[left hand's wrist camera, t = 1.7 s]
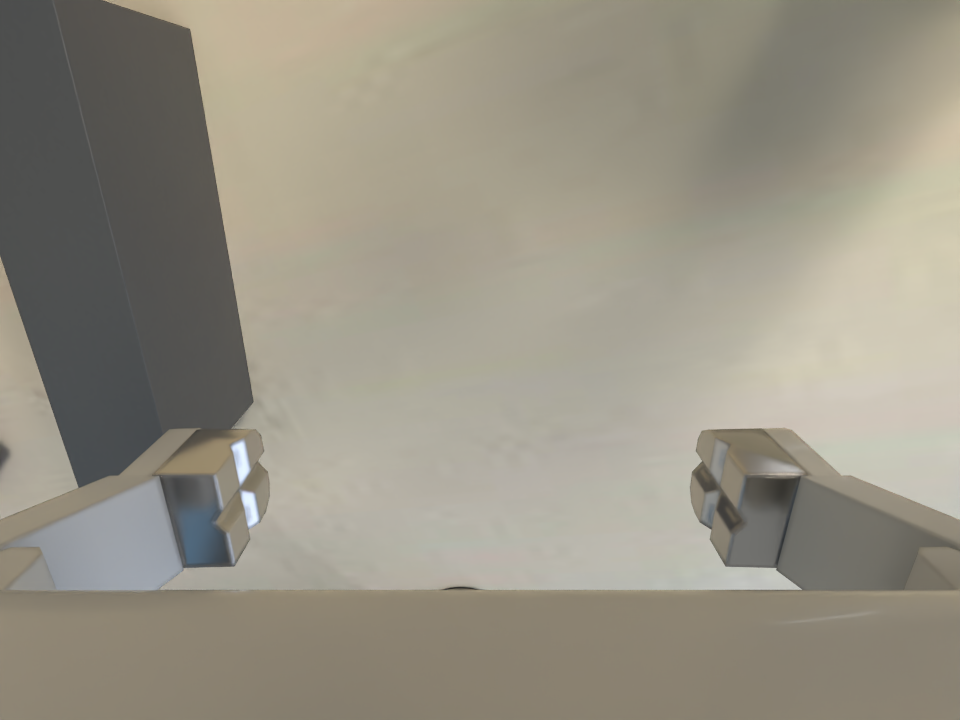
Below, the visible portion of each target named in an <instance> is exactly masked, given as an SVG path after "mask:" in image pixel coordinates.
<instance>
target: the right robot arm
mask: <svg viewBox="0 0 960 720" xmlns="http://www.w3.org/2000/svg"><path fill="white" fill-rule="evenodd" d="M448 590H475V589H470V588H453V589H448Z"/></svg>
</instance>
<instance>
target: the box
mask: <svg viewBox="0 0 960 720" xmlns="http://www.w3.org/2000/svg"><path fill="white" fill-rule="evenodd" d="M0 257H1V259H2V262H3V265H4V268H5V271H6V274H7V277H8V280H9V283H10V286H11V289H12V292H13V295H14V298H15V301H16V304H17V307H18V310H19V313H20V316H21V319H22V322H23V324H24V327H25V330H26V333H27V336H28V339H29V342H30V345H31V348H32V351H33V354H34V357H35V360H36V363H37V366H38V369H39V372H40V375H41V378H42V381H43V384H44V387H45V389H46V392H47V395H48V398H49V401H50V404H51V407H52V410H53V413H54V416H55V419H56V422H57V425H58V428H59V431H60V434H61V437H62V440H63V443H64V446H65V449H66V451H67V454H68V457H69V460H70V463H71V466H72V469H73V472H74V475H75V478H76V481H77V484H78V487H79V488H80V487H82V486H85V485H87V484H90V483H92V482H95V481H97V480H100V479H102V478H105V477H107V476H119V475H120V474H121V473H122V472H123V471H124V470H125V469H126V468H127V467H128V466H130V465H131V464H132V463H133V462H134V461H135V460H136V459H137V458H138V457H139V456H140V455H142V454H143V453H144V452H145V451H146V450H147V449H148V448H149V447H150V446H151V445H153V444H154V443H155V442H156V441H157V440H158V439H159V438H160V437H161V436H162V435H164V434H165V433H166V432H167V431H168V430H169V429H179V428H201V429H231V428H232V427H233V426H234V424H235V423H236V422H237V421H238V420H239V418H240V417H241V416H242V415H243V414H244V412H245V411H246V410H247V409H248V408H249V407H250V405H251V404H252V403H253V397H252V391H251V385H250V379H249V374H248V368H247V362H246V356H245V350H244V344H243V338H242V333H241V327H240V321H239V315H238V309H237V303H236V297H235V291H234V286H233V280H232V274H231V268H230V262H229V256H228V250H227V245H226V239H225V233H224V227H223V221H222V215H221V209H220V203H219V198H218V192H217V186H216V180H215V174H214V168H213V162H212V157H211V151H210V145H209V139H208V133H207V127H206V121H205V115H204V110H203V104H202V98H201V92H200V86H199V80H198V74H197V69H196V63H195V57H194V51H193V45H192V39H191V33H190V29H188V28H185V27H182V26H179V25H176V24H173V23H170V22H167V21H164V20H161V19H157V18H154V17H151V16H148V15H145V14H142V13H139V12H136V11H133V10H130V9H127V8H124V7H121V6H118V5H115V4H112V3H109V2H106V1H103V0H0Z"/></svg>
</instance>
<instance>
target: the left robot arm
mask: <svg viewBox="0 0 960 720" xmlns="http://www.w3.org/2000/svg"><path fill="white" fill-rule="evenodd" d="M263 452H264V448H263V443H262V438H261V435H260V434H259V433H258V431H257V430H256V429H201V428H179V429H169V430H168V431H167V432H166V433H165V434H164V435H162V436H161V437H160V438H159V439H158V440H157V441H156V442H155V443H154V444H153V445H151V446H150V447H149V448H148V449H147V450H146V451H145V452H144V453H143V454H142V455H140V456H139V457H138V458H137V459H136V460H135V461H134V462H133V463H132V464H131V465H130V466H128V467H127V468H126V469H125V470H124V471H123V472H122V473H121V474H120V475H119V476H107V477H105V478H102V479H100V480H97V481H95V482H92V483H90V484H87V485H85V486H82V487H80V488H78V489H75V490H73V491H70V492H68V493H65V494H63V495H60V496H58V497H55V498H53V499H50V500H48V501H45V502H43V503H40V504H38V505H35V506H33V507H31V508H28V509H26V510H23V511H21V512H18V513H16V514H13V515H11V516H8V517H6V518H3V519H1V520H0V720H960V520H959V519H956V518H954V517H951V516H949V515H946V514H944V513H942V512H939V511H937V510H934V509H932V508H929V507H927V506H924V505H922V504H919V503H917V502H914V501H912V500H909V499H907V498H905V497H902V496H900V495H897V494H895V493H892V492H890V491H887V490H885V489H882V488H880V487H877V486H875V485H873V484H870V483H868V482H865V481H863V480H860V479H858V478H855V477H853V476H841V475H840V474H839V473H838V472H837V471H836V470H835V469H834V468H833V467H832V466H831V465H829V464H828V463H827V462H826V461H825V460H824V459H823V458H822V457H821V456H820V455H818V454H817V453H816V452H815V451H814V450H813V449H812V448H811V447H810V446H809V445H808V444H806V443H805V442H804V441H803V440H802V439H801V438H800V437H799V436H798V435H797V434H796V433H794V432H793V431H792V430H790V429H787V428H768V429H762V428H759V429H717V430H704V431H702V432H701V434H700V436H699V438H698V442H697V447H696V452H697V454H698V455H699V457H700V458H701V460H702V462H701V463H700V464H699V465H698V466H697V467H696V468H695V469H694V470H693V471H692V477H691V484H690V493H691V503H692V506H693V509H694V512H695V514H696V516H697V518H698V520H699V522H700V523H702V524H703V525H705V526H707V527H708V528H710V529H711V535H710V541H711V542H712V544H713V546H714V547H715V549H716V551H717V553H718V554H719V556H720V558H721V559H722V561H723V563H724V564H725V566H727V567H764V568H777V569H776V570H777V571H778V572H780V573H781V574H782V575H784V576H785V577H786V578H788V579H789V580H790V581H792V582H793V583H794V584H796V585H797V586H798V587H800V588H801V589H802V590H158V589H159V588H160V587H162V586H163V585H164V584H166V583H167V582H168V581H170V580H171V579H173V578H174V577H175V576H177V575H178V574H179V573H181V572H182V571H183V570H184V569H183V568H196V567H231V566H235V564H236V563H237V561H238V559H239V558H240V556H241V554H242V553H243V551H244V549H245V547H246V546H247V544H248V542H249V541H250V536H249V529H250V528H252V527H253V526H255V525H257V524H258V523H260V521H261V520H262V518H263V516H264V514H265V512H266V509H267V505H268V501H269V496H270V483H269V476H268V471H267V470H266V469H265V468H264V467H263V466H262V465H261V464H260V463H259V462H258V460H259V458H260V457H261V455H262V454H263Z"/></svg>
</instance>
